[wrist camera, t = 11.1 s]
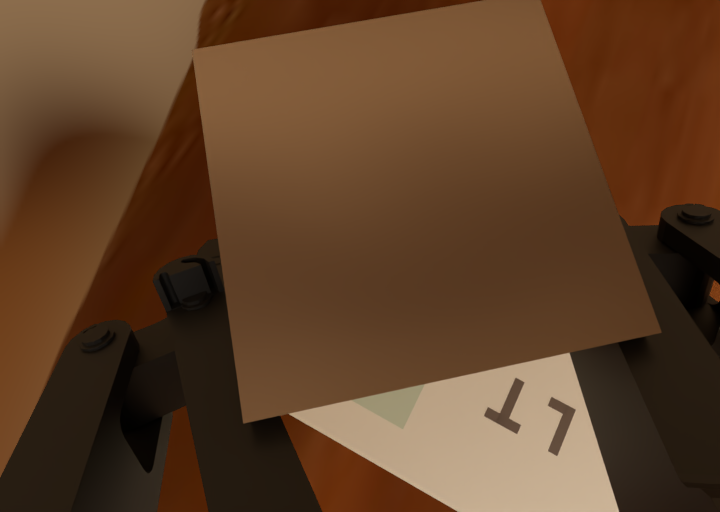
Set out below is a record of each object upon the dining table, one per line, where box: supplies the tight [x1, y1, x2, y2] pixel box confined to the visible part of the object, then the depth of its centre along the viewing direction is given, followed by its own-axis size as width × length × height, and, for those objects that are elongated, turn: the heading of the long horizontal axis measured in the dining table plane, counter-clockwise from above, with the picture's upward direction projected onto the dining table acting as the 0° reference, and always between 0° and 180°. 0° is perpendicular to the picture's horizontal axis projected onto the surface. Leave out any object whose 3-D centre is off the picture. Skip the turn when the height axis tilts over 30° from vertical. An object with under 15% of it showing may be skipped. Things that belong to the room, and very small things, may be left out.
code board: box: [289, 353, 619, 512], centre depth 29 cm, size 14×26×1 cm, turn 62°
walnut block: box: [192, 0, 662, 423], centre depth 13 cm, size 6×6×12 cm
